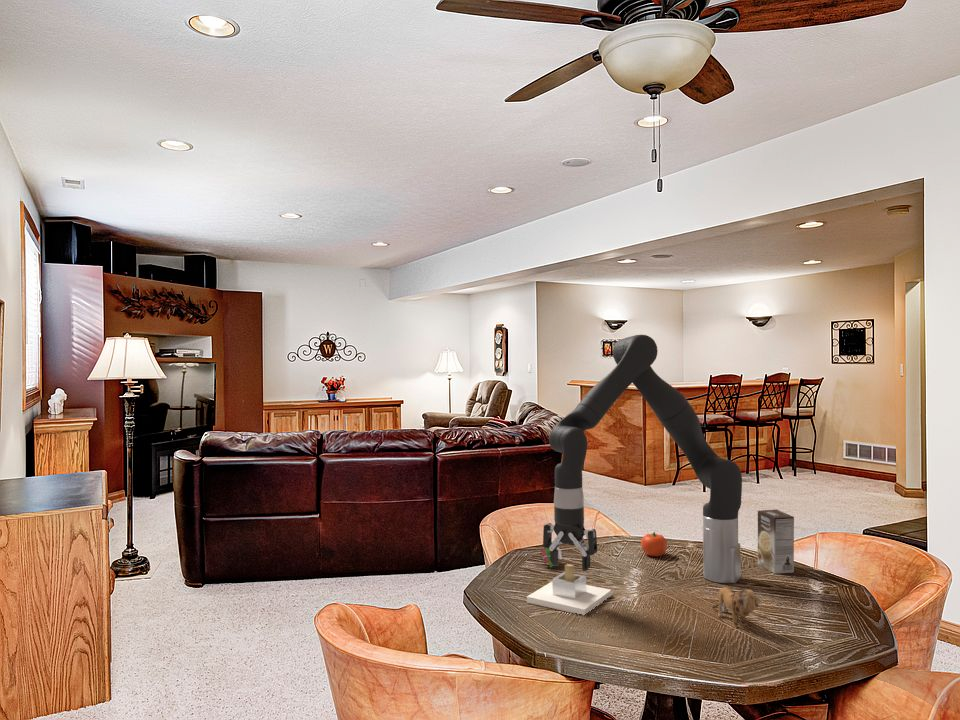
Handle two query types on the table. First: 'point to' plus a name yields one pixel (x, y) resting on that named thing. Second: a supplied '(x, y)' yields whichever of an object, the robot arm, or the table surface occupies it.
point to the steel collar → (569, 586)
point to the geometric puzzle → (547, 555)
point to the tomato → (654, 544)
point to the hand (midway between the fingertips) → (570, 567)
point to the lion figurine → (737, 604)
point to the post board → (578, 605)
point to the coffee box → (776, 541)
